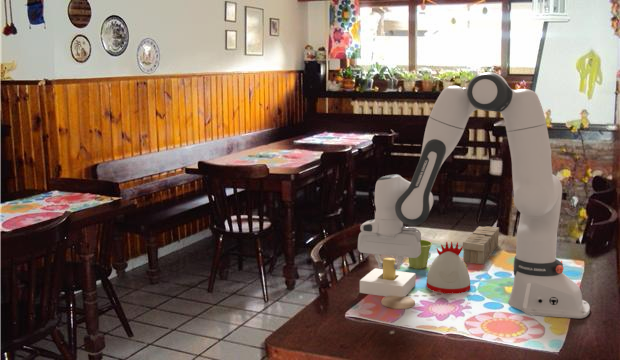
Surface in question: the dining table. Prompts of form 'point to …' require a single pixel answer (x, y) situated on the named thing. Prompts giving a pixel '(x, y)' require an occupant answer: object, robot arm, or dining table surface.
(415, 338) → the dining table surface
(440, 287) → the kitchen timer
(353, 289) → the dining table surface
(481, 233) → the block tower
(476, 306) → the dining table surface
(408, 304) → the coaster
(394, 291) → the pocket block
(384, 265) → the dowel
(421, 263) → the plant pot
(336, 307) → the dining table surface
